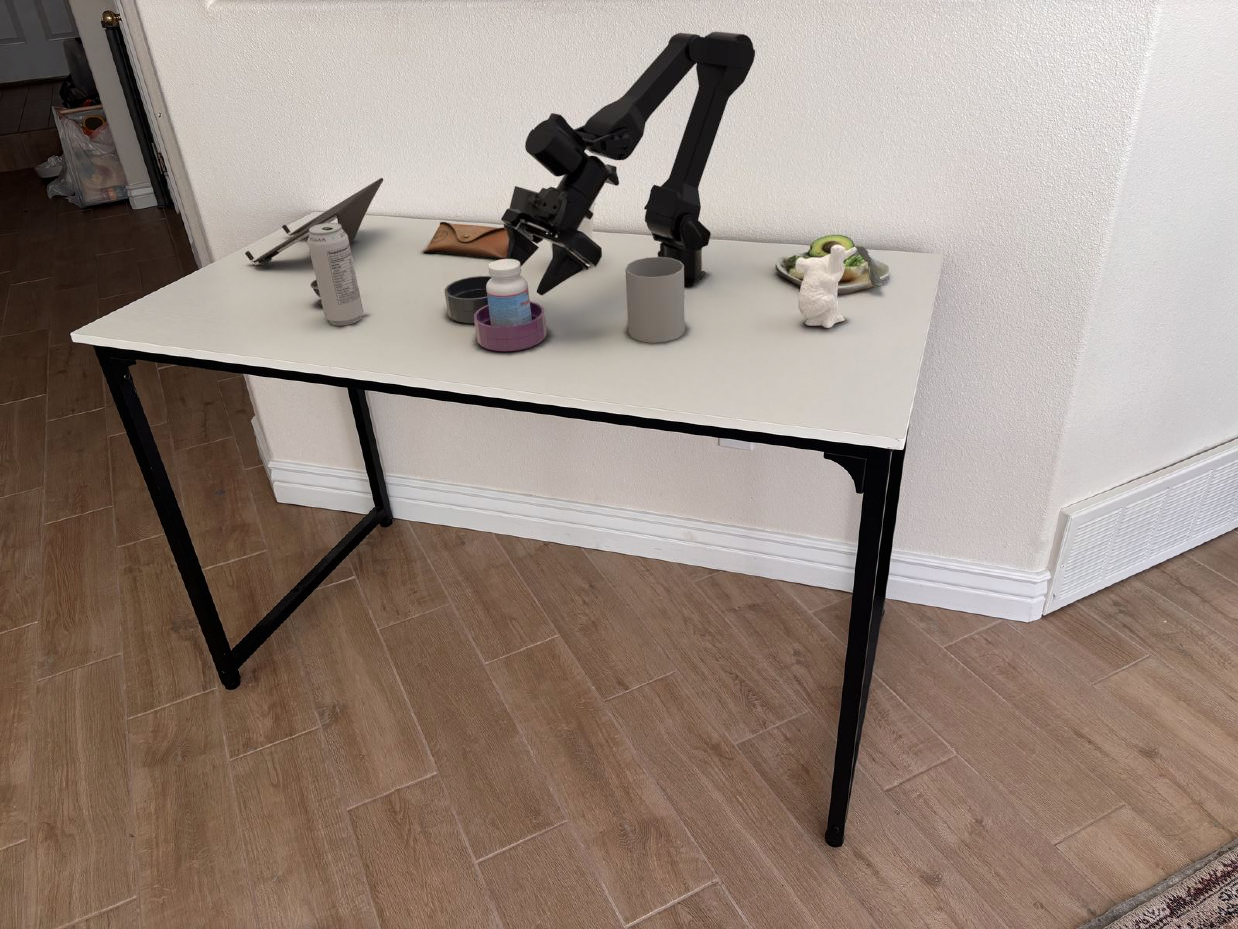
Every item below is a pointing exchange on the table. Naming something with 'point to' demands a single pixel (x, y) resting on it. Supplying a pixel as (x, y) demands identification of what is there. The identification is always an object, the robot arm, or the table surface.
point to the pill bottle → (507, 294)
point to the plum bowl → (510, 331)
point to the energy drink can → (335, 273)
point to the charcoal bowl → (466, 298)
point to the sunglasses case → (470, 241)
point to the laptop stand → (344, 212)
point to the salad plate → (857, 266)
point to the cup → (655, 299)
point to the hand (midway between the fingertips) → (521, 285)
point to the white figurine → (822, 286)
